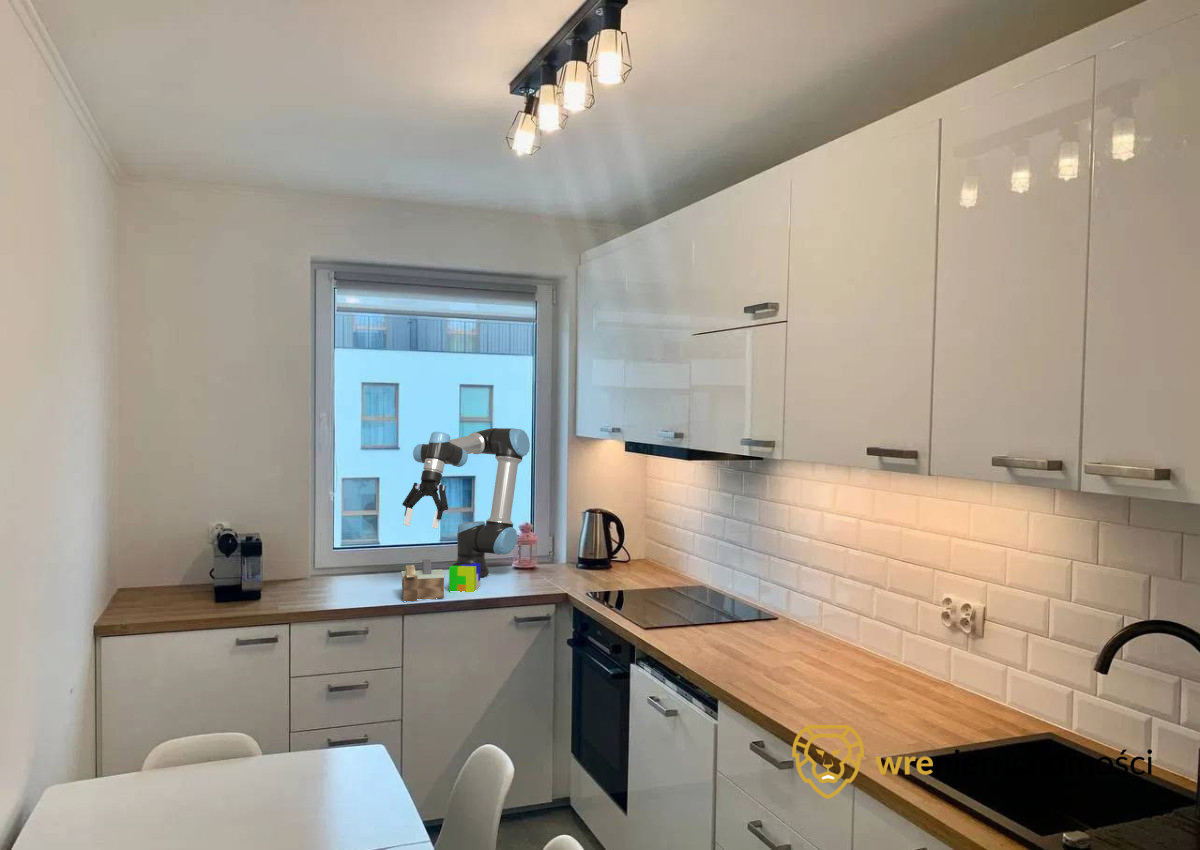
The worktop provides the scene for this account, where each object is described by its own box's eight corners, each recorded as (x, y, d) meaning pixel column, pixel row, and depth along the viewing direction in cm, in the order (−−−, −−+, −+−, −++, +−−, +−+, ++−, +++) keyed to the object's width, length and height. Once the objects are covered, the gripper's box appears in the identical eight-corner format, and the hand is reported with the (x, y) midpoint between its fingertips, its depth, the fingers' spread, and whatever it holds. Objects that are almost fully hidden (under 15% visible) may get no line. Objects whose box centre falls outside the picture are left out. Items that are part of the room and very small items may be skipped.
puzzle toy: (480, 588, 345) (480, 563, 345) (474, 593, 335) (474, 567, 335) (455, 587, 346) (456, 562, 346) (449, 592, 336) (449, 567, 336)
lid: (442, 575, 335) (442, 558, 335) (444, 580, 325) (444, 562, 325) (401, 576, 331) (401, 559, 330) (402, 582, 321) (402, 564, 320)
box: (441, 592, 335) (441, 569, 335) (444, 600, 322) (444, 575, 322) (402, 594, 331) (402, 570, 331) (403, 602, 318) (403, 577, 318)
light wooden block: (413, 572, 325) (413, 565, 325) (415, 576, 318) (415, 568, 317) (405, 573, 324) (405, 565, 324) (406, 577, 317) (406, 569, 317)
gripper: (401, 467, 329) (388, 522, 323) (452, 470, 317) (440, 527, 311) (413, 473, 335) (401, 526, 329) (464, 475, 323) (452, 531, 317)
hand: (420, 526), depth 320 cm, fingers open, 13 cm apart
